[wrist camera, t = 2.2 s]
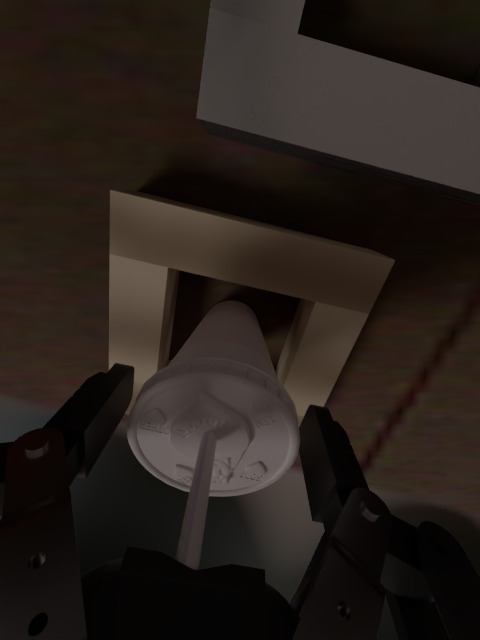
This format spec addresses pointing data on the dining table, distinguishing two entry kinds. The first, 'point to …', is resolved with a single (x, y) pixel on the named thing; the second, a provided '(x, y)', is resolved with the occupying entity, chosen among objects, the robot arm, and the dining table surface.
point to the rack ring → (336, 102)
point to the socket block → (242, 268)
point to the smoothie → (215, 419)
